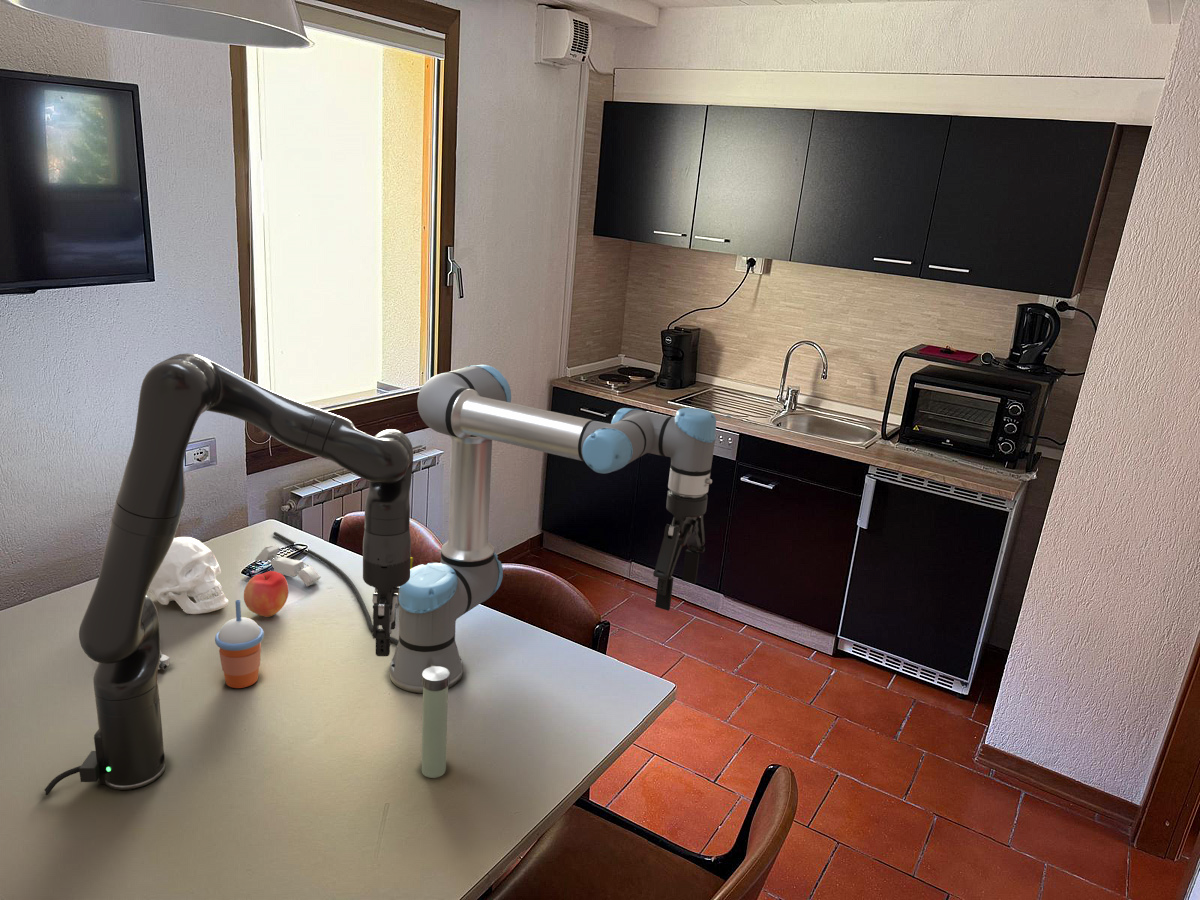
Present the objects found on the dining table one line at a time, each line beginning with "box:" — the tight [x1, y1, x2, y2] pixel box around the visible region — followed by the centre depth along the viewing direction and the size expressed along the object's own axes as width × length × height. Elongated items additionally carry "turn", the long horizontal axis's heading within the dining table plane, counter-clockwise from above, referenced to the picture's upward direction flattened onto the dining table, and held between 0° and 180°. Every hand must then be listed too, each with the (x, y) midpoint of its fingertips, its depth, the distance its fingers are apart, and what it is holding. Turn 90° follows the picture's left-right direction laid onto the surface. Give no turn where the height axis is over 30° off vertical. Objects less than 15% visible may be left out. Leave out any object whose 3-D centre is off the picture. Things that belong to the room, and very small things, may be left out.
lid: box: [421, 666, 450, 691], centre depth 148 cm, size 5×5×2 cm
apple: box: [243, 570, 289, 618], centre depth 199 cm, size 10×10×10 cm
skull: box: [148, 536, 229, 615], centre depth 201 cm, size 13×22×16 cm, turn 73°
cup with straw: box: [214, 599, 265, 689], centre depth 172 cm, size 9×9×18 cm
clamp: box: [254, 544, 322, 587], centre depth 219 cm, size 20×4×7 cm, turn 62°
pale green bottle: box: [421, 687, 449, 779], centre depth 150 cm, size 4×4×19 cm
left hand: (385, 641), depth 143 cm, fingers open, 8 cm apart
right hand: (676, 594), depth 165 cm, fingers open, 13 cm apart
